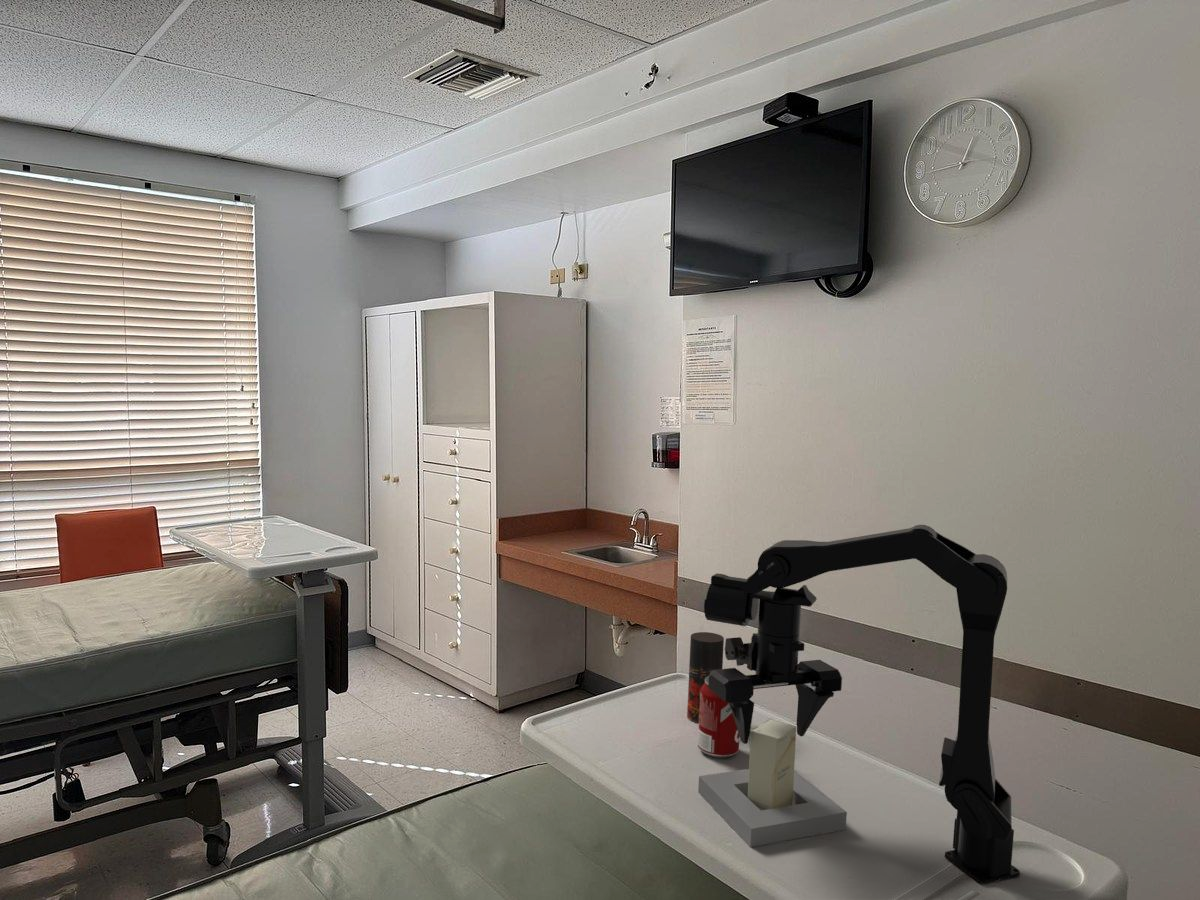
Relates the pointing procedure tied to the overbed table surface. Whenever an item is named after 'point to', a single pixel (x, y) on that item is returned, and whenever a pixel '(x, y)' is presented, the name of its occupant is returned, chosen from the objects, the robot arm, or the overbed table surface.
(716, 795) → the socket holder
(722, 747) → the soda can
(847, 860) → the overbed table surface
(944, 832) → the overbed table surface
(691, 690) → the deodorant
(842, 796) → the overbed table surface
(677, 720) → the overbed table surface
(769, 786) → the skincare box
